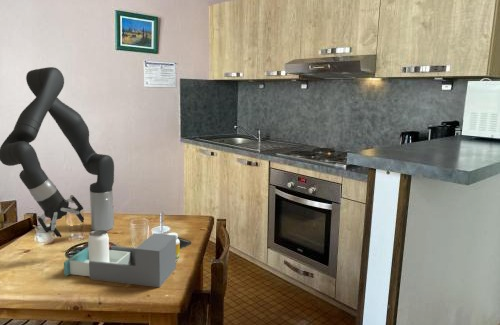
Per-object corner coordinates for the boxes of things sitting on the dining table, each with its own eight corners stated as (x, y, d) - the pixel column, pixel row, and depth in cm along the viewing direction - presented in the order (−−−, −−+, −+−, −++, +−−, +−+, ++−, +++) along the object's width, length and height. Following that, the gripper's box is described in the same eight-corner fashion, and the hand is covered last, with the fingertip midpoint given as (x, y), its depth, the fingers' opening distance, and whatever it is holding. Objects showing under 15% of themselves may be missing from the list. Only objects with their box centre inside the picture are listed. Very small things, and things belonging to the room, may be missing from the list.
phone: (167, 233, 167) (192, 242, 159) (167, 236, 168) (192, 244, 159) (153, 238, 161) (178, 247, 152) (153, 241, 161) (178, 250, 153)
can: (85, 266, 133) (84, 232, 131) (104, 260, 137) (102, 228, 135) (94, 272, 128) (93, 237, 126) (113, 266, 133) (112, 232, 131)
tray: (89, 258, 142) (88, 246, 141) (132, 262, 139) (132, 250, 138) (64, 275, 128) (63, 262, 127) (112, 280, 125) (111, 267, 124)
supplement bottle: (161, 259, 143) (161, 234, 142) (174, 255, 147) (173, 230, 146) (170, 263, 140) (170, 238, 138) (182, 259, 144) (182, 234, 142)
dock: (112, 261, 140) (111, 229, 138) (175, 268, 136) (175, 235, 134) (89, 279, 126) (88, 243, 124) (159, 287, 122) (159, 251, 120)
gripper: (62, 179, 139) (86, 214, 146) (23, 202, 133) (50, 237, 140) (68, 184, 133) (92, 220, 141) (27, 209, 127) (55, 245, 134)
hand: (71, 228), depth 140 cm, fingers open, 8 cm apart
